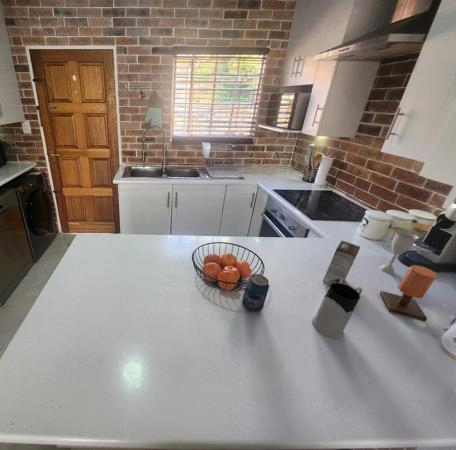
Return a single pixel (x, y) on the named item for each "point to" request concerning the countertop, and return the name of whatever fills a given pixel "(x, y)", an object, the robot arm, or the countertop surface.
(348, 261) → the coffee box
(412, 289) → the cup
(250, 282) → the soda can
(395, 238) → the chalice
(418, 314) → the stand
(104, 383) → the countertop surface
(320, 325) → the glass holder
